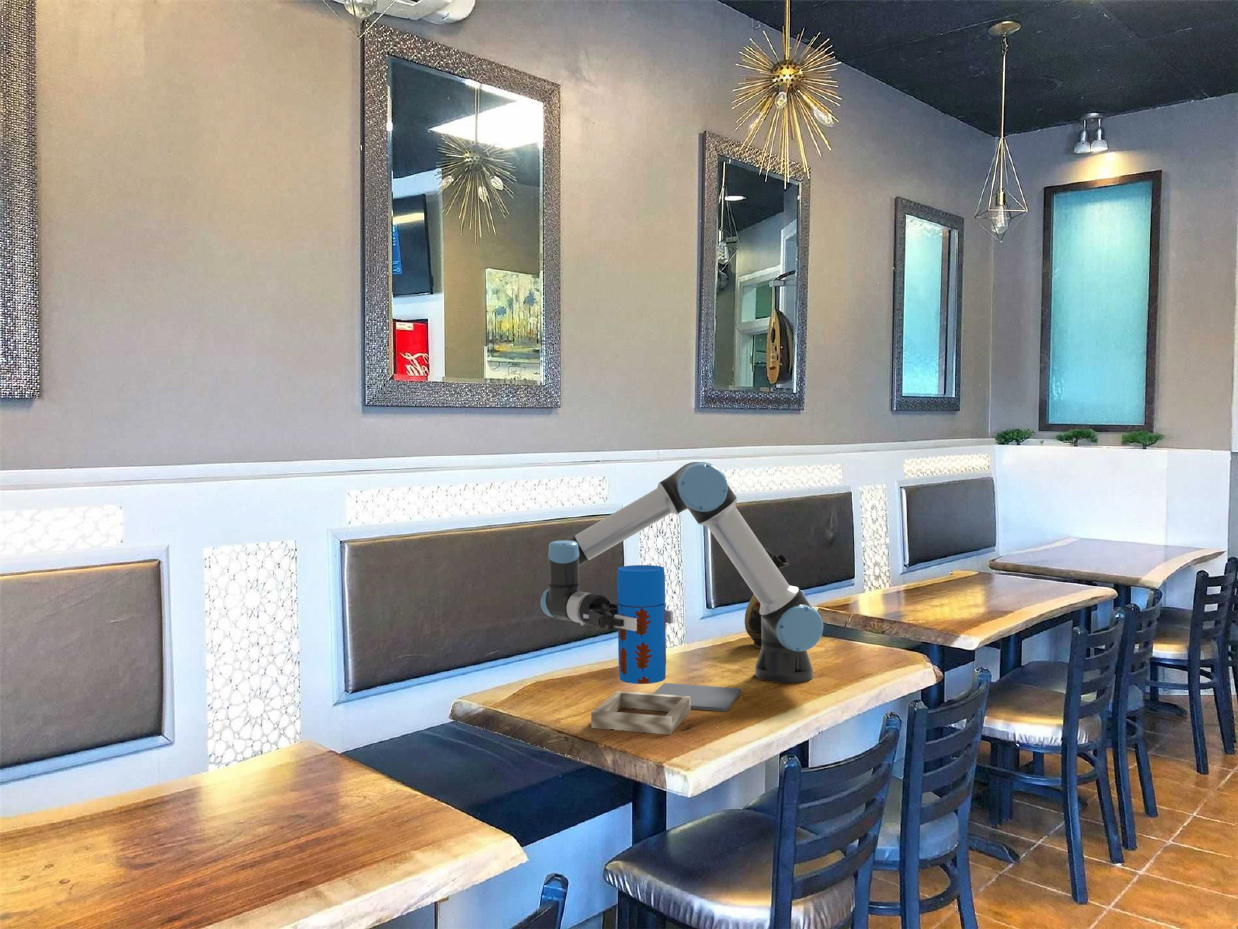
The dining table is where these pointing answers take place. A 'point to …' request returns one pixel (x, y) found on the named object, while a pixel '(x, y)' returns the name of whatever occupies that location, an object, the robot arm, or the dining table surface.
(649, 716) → the wooden collar
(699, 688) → the rubber mat
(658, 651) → the thermos
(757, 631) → the ceramic jug
